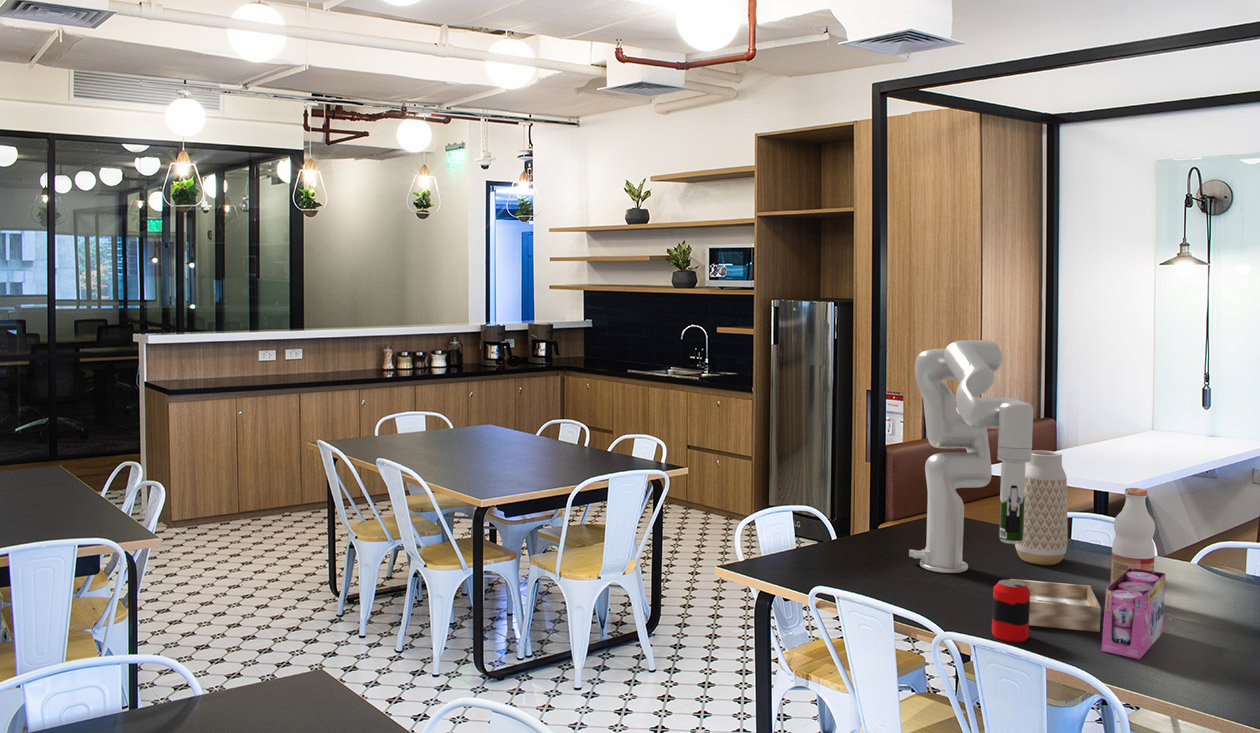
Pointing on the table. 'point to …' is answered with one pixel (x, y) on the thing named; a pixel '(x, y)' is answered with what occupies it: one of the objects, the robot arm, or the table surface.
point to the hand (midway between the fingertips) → (1011, 528)
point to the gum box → (1133, 612)
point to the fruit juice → (1133, 535)
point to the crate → (1063, 606)
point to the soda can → (1011, 611)
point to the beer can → (1004, 536)
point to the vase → (1044, 510)
